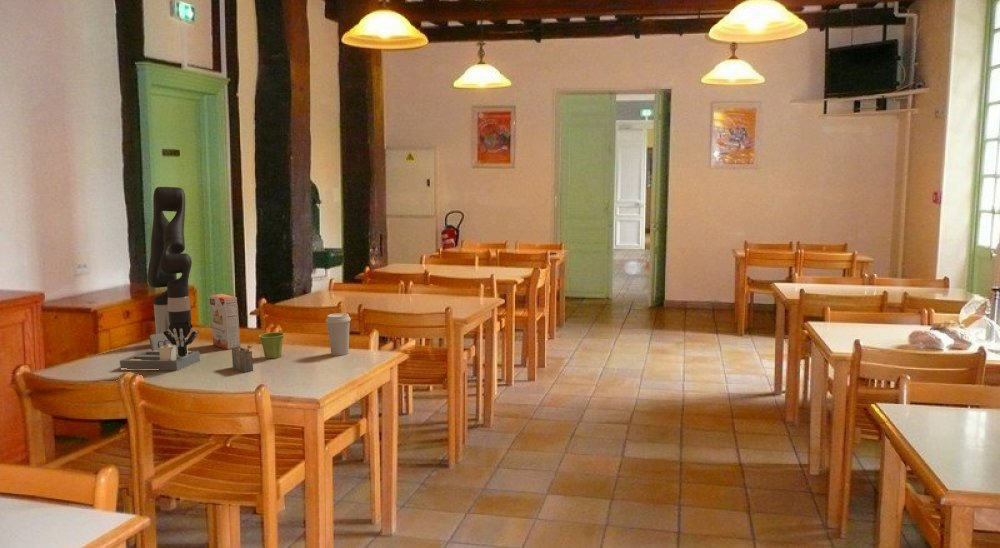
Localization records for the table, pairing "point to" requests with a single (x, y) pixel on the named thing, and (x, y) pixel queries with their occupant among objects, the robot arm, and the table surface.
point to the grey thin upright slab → (242, 359)
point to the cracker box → (225, 321)
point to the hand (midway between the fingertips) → (182, 356)
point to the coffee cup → (338, 333)
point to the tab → (168, 352)
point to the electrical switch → (158, 341)
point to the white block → (177, 349)
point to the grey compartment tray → (158, 361)
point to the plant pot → (272, 344)
